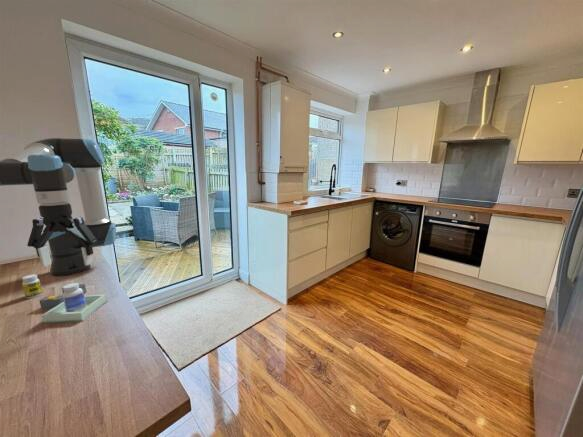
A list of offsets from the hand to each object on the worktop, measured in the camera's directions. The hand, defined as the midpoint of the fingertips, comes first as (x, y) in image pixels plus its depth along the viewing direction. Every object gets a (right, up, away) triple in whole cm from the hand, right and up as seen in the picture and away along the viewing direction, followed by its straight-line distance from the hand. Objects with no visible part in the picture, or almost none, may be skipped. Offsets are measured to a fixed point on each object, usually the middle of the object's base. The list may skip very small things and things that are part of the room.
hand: (68, 264), depth 81 cm
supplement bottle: (-28, -16, +15) cm, 35 cm away
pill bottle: (0, -17, +3) cm, 17 cm away
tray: (0, -17, +3) cm, 18 cm away
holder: (-12, -16, +11) cm, 23 cm away
